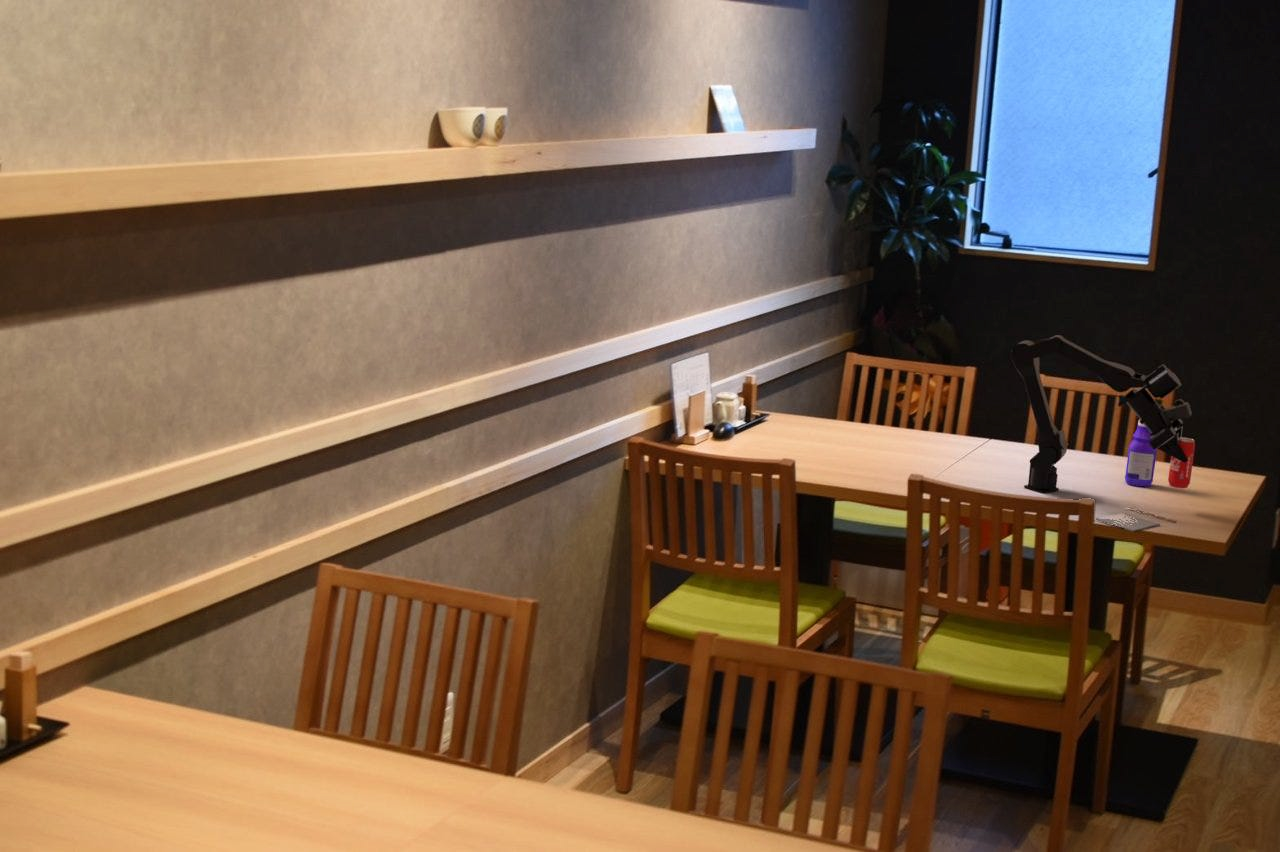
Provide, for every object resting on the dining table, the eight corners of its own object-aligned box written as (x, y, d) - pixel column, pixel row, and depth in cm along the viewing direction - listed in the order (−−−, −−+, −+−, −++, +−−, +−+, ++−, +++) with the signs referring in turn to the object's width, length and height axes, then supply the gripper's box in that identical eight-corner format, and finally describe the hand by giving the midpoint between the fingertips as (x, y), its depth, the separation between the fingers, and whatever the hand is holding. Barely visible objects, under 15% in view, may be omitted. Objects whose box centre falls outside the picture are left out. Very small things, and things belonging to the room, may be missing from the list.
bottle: (1152, 483, 408) (1160, 420, 404) (1152, 488, 402) (1160, 424, 398) (1124, 480, 410) (1132, 417, 406) (1123, 485, 405) (1131, 421, 401)
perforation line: (1124, 508, 381) (1124, 507, 381) (1127, 508, 382) (1127, 506, 382) (1173, 522, 371) (1174, 521, 371) (1176, 522, 371) (1176, 520, 371)
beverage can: (1190, 489, 379) (1197, 442, 376) (1168, 487, 380) (1175, 440, 377) (1187, 484, 384) (1194, 437, 381) (1166, 482, 385) (1172, 435, 382)
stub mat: (1093, 520, 370) (1093, 518, 370) (1121, 514, 376) (1121, 512, 376) (1132, 531, 361) (1132, 530, 361) (1159, 525, 368) (1160, 523, 368)
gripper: (1169, 396, 370) (1211, 447, 367) (1178, 384, 386) (1218, 433, 384) (1131, 423, 375) (1172, 474, 373) (1142, 410, 391) (1182, 458, 389)
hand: (1187, 459), depth 379 cm, fingers closed on beverage can, 5 cm apart
